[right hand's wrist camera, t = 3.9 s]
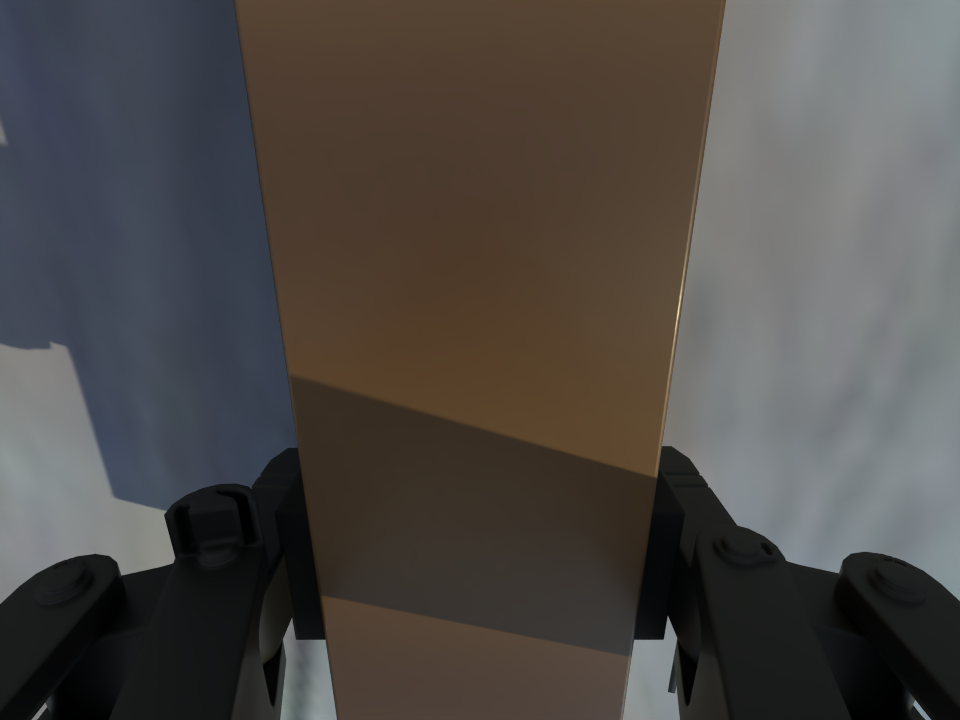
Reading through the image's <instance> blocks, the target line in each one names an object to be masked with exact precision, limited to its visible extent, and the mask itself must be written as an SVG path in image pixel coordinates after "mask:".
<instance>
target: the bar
mask: <svg viewBox="0 0 960 720" xmlns="http://www.w3.org/2000/svg"><path fill="white" fill-rule="evenodd" d="M725 3H726V0H234V7H235V14H236V21H237V28H238V35H239V42H240V49H241V56H242V63H243V70H244V76H245V83H246V90H247V97H248V104H249V111H250V118H251V125H252V132H253V139H254V146H255V153H256V160H257V167H258V174H259V181H260V188H261V194H262V201H263V208H264V215H265V222H266V229H267V236H268V243H269V250H270V257H271V264H272V271H273V278H274V285H275V292H276V299H277V306H278V312H279V319H280V326H281V333H282V340H283V347H284V354H285V361H286V368H287V375H288V382H289V389H290V396H291V403H292V410H293V417H294V424H295V430H296V437H297V444H298V451H299V458H300V465H301V472H302V479H303V486H304V493H305V500H306V507H307V514H308V521H309V528H310V535H311V542H312V549H313V555H314V562H315V569H316V576H317V583H318V590H319V597H320V604H321V611H322V618H323V625H324V632H325V639H326V646H327V653H328V660H329V667H330V673H331V680H332V687H333V694H334V701H335V708H336V715H337V720H622V719H623V712H624V705H625V698H626V691H627V684H628V678H629V671H630V664H631V657H632V650H633V643H634V636H635V629H636V622H637V615H638V608H639V601H640V594H641V587H642V580H643V573H644V566H645V559H646V552H647V545H648V538H649V531H650V525H651V518H652V511H653V504H654V497H655V490H656V483H657V476H658V469H659V462H660V455H661V448H662V441H663V434H664V427H665V420H666V413H667V406H668V399H669V392H670V385H671V378H672V371H673V365H674V358H675V351H676V344H677V337H678V330H679V323H680V316H681V309H682V302H683V295H684V288H685V281H686V274H687V267H688V260H689V253H690V246H691V239H692V232H693V225H694V218H695V212H696V205H697V198H698V191H699V184H700V177H701V170H702V163H703V156H704V149H705V142H706V135H707V128H708V121H709V114H710V107H711V100H712V93H713V86H714V79H715V72H716V65H717V59H718V52H719V45H720V38H721V31H722V24H723V17H724V10H725Z"/></svg>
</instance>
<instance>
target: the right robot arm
mask: <svg viewBox="0 0 960 720" xmlns="http://www.w3.org/2000/svg"><path fill="white" fill-rule="evenodd" d="M164 516H165V520H166V524H167V528H168V532H169V535H170V539H171V543H172V547H173V550H174V554H175V561H174V563H173V564H170V565H166V566H163V567H159V568H154V569H150V570H145V571H141V572H136V573H131V574H127V575H122V576H121V573H120V570H119V567H118V564H117V562H116V561H115V560H113V559H112V558H111V557H110V556H105V555H99V554H92V555H85V556H77V557H74V558H71V559H68V560H64V561H61V562H59V563H56V564H54V565H52V566H50V567H48V568H46V569H44V570H42V571H40V572H39V573H37V574H35V575H34V576H33V577H31V578H30V579H29V580H27V581H26V582H25V583H23V584H22V585H21V586H19V587H18V588H17V589H16V590H15V591H14V592H13V593H12V594H11V595H10V596H9V597H8V598H6V599H5V600H4V601H3V602H2V603H1V604H0V720H32V718H33V717H34V716H35V715H36V713H37V712H38V711H39V710H40V708H41V707H42V706H43V704H44V703H46V705H47V708H46V709H45V711H44V712H43V713H42V715H41V716H40V717H39V718H38V719H37V720H280V715H281V705H282V696H283V686H284V676H285V667H286V656H285V649H284V644H283V638H284V635H285V633H286V630H287V628H288V626H289V623H290V621H291V618H292V619H293V625H294V630H295V636H296V640H326V639H325V632H324V625H323V618H322V611H321V604H320V597H319V590H318V583H317V576H316V569H315V562H314V555H313V549H312V542H311V535H310V528H309V521H308V514H307V507H306V500H305V493H304V486H303V479H302V472H301V465H300V458H299V451H298V448H288V449H286V450H285V451H283V452H282V453H280V454H279V455H277V456H276V457H275V458H273V459H272V460H270V462H269V463H268V465H267V466H266V467H265V469H264V470H263V472H262V473H261V476H260V477H258V479H257V480H256V482H255V483H254V484H253V486H252V489H251V488H249V487H248V486H244V485H239V484H219V485H214V486H210V487H206V488H202V489H200V490H197V491H195V492H193V493H190V494H188V495H186V496H184V497H183V498H181V499H180V500H178V501H177V502H175V503H174V504H173V505H172V506H171V507H170V508H169V509H168V511H167V512H166V513H165V514H164ZM667 617H669V619H670V621H671V624H672V626H673V629H674V631H675V633H676V636H677V644H676V649H675V654H674V660H673V665H672V671H671V676H670V682H669V689H668V692H671V693H675V690H676V685H677V694H678V704H679V714H680V720H925V719H924V718H923V717H922V716H921V714H920V713H919V712H918V711H917V709H916V708H915V707H914V706H913V704H914V701H915V700H916V701H917V702H918V704H919V705H920V706H921V707H922V709H923V710H924V711H925V712H926V714H927V715H928V716H929V717H930V719H931V720H960V601H959V600H958V599H957V598H956V597H955V596H953V595H952V594H951V593H950V592H949V591H948V590H947V589H946V588H945V587H944V586H943V585H942V584H940V583H939V582H938V581H936V580H935V579H934V578H932V577H931V576H930V575H928V574H927V573H926V572H924V571H923V570H921V569H919V568H917V567H915V566H913V565H911V564H909V563H907V562H905V561H903V560H900V559H897V558H893V557H891V556H887V555H884V554H878V553H870V552H860V553H853V554H850V555H849V556H848V557H846V558H845V559H844V560H843V562H842V565H841V569H840V572H839V573H834V572H829V571H825V570H820V569H816V568H811V567H807V566H802V565H798V564H794V563H791V562H787V561H786V560H785V557H784V556H783V554H782V553H781V552H780V550H779V549H778V547H777V546H776V545H775V544H773V543H772V542H771V541H769V540H768V539H767V538H766V537H764V536H763V535H760V534H758V533H756V532H754V531H752V530H750V529H748V528H744V527H740V526H737V525H736V523H735V522H734V520H733V519H732V518H731V516H730V515H729V513H728V512H727V511H726V509H725V508H724V506H723V505H722V504H721V502H720V501H719V499H718V498H717V497H716V495H715V494H714V492H713V491H712V490H711V488H710V487H708V484H707V483H706V481H705V480H704V478H703V477H702V476H701V475H699V471H698V470H697V469H696V467H695V466H694V464H693V463H692V462H691V460H690V459H689V458H688V457H686V456H685V455H683V454H682V453H680V452H679V451H678V450H676V449H675V448H673V447H672V446H662V448H661V455H660V462H659V469H658V476H657V483H656V490H655V497H654V504H653V511H652V518H651V525H650V531H649V538H648V545H647V552H646V559H645V566H644V573H643V580H642V587H641V594H640V601H639V608H638V615H637V622H636V629H635V636H634V640H664V634H665V628H666V623H667Z"/></svg>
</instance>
